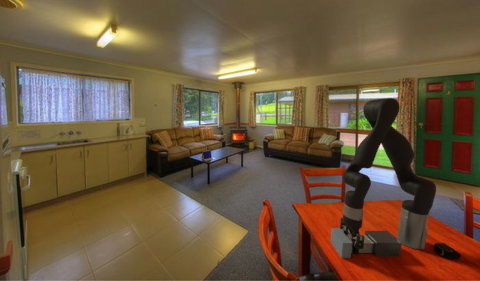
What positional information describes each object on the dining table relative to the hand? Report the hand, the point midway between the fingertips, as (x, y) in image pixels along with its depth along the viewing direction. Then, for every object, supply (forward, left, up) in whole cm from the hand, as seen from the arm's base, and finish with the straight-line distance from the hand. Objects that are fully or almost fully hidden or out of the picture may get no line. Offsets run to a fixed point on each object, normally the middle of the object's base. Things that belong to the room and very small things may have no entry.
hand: (349, 246), depth 83 cm
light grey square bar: (-3, -2, -2) cm, 4 cm away
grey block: (+4, +2, -2) cm, 5 cm away
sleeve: (-12, -8, -2) cm, 14 cm away
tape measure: (-35, -21, -2) cm, 41 cm away
